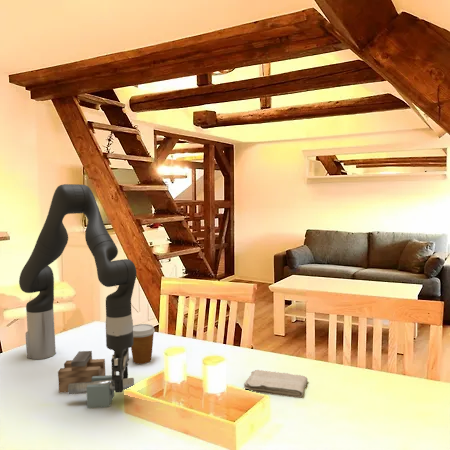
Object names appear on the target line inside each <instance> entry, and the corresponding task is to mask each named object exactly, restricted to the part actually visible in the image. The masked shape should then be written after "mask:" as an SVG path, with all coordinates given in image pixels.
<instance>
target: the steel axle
mask: <svg viewBox="0 0 450 450" xmlns="http://www.w3.org/2000/svg"><path fill="white" fill-rule="evenodd" d="M95 384H110V391H114V392H115V385H114V380H103V381H92V382H81V383H70V384H69V385H68V392H67V393H68V396H69V395H70V396H71V395H79V394H87V385H95ZM133 385H134V386H135V378H134V377H128V378H125V379H123V391H124V390H125V389H126V390H128V389H127V388H129V387H131V386H133Z"/></svg>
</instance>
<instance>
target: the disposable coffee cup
mask: <svg viewBox="0 0 450 450" xmlns="http://www.w3.org/2000/svg"><path fill="white" fill-rule="evenodd" d="M155 331H156V330H155V328H154V325H153V324H149V323H138V324H133V346H132V347H130V350H131V356H132V362H133V363H134V364H138V365H143V364H144V365H145V364H148V363H150V362H151V361H152V358H153V357H152V355H153V344H154V333H155Z"/></svg>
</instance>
